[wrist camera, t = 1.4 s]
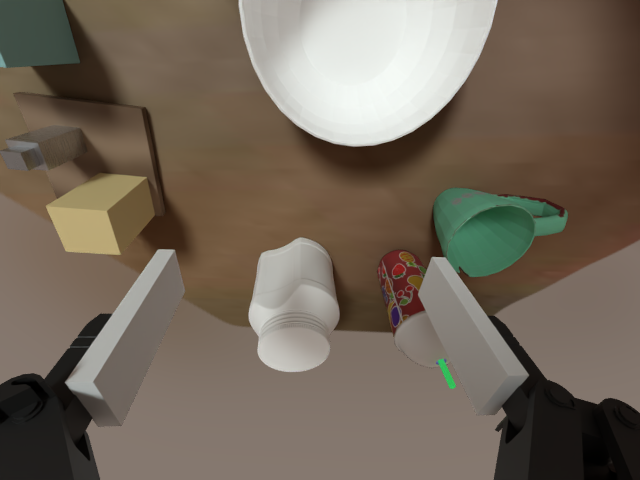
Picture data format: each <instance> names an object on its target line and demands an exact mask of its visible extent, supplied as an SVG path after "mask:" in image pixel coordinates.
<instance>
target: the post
mask: <svg viewBox="0 0 640 480" xmlns="http://www.w3.org/2000/svg"><path fill="white" fill-rule="evenodd" d="M5 141H6V143H7V145H8V147H9V148H6V149H3V150H0V153H1V155H2V157H3V159H4V161H5V163H6V165H7V167H8V169H16V170H26V171H29V170H31V169H36V170H47V171H49V170H51V169H53V168H56V167H58V166H60V165H62V164H64V163H66V162H68V161H70V160H72V159H74V158H76V157H78V156H80V155H82V154H84V153H86V152H88V151H87V148H86V145H85V142H84V139H83V135H82V132H81V129H80V128H77V127H68V126H59V125H51V126H48V127H45V128H41V129H38V130H35V131H32V132H28V133H25V134H22V135H19V136H15V137H12V138H9V139H5Z"/></svg>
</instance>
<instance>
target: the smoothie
mask: <svg viewBox="0 0 640 480" xmlns="http://www.w3.org/2000/svg"><path fill="white" fill-rule="evenodd" d="M426 271H427V270H426V268H425V267H424V265H423V264H422V262H421V261H420V260H419V258H418V257H417V256H416V255H414V254H412V253H410V252H408V251H405V250H395V251H392V252H390V253H388V254H386V255H385V256H384V257H383V258H382V259H381V261H380V264H379V266H378V270H377V273H378V278H379V282H380V286H381V290H382V293H383V297H384V301H385V305H386V309H387V313H388V317H389V321H390V325H391V329H392V332H393V336H394V342H395V345H396V347H397V348H398V349H399V351H401V352H403V353H404V354H405V355H406V356H407V357H408V358H409V359H410V360H412V361H414V362H415V363H417V364H419V365H421V366H425V367H429V368H437V367H440V368H441V370H442V372H443V374H444V376H445V379H446V381H447V383H448V385H449V388H451V389H453V388H455V387H456V385H455V383H454V381H453V379H452V377H451V374H450V372H449V370H448V368H447V366H446V365H447V364H449V363H451V361H450V359H449V357H448V355H447V353H446V351H445V349H444V347H443V345H442V343H441V341H440V339H439V337H438V335H437V333H436V331H435V329H434V327H433V325H432V323H431V320H430V318H429V316H428V314H427V312H426V310H425V308H424V306H423V304H422V302H421V300H420V298H419V296H418V293H419V290H420V287H421V285H422V282H423V279H424V277H425V274H426Z"/></svg>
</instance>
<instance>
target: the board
mask: <svg viewBox="0 0 640 480" xmlns="http://www.w3.org/2000/svg"><path fill="white" fill-rule="evenodd" d="M13 94H14V96H15V99H16V101H17V104H18V106H19V108H20V111H21V113H22V116H23V118H24V120H25V123H26V125H27V128H28V130H29V132H32V131H35V130H38V129H41V128H45V127H48V126H51V125H59V126H68V127H77V128H80V129H81V132H82V135H83V139H84V142H85V145H86V148H87V151H88V152H86V153H84V154H82V155H80V156H78V157H76V158H74V159H72V160H70V161H68V162H66V163H64V164H62V165H60V166H58V167H56V168H53V169H51V170H49V171H47V170H45V171H46V173H47V176H48V178H49V180H50V183H51V185H52V188H53V190H54V192H55V195H56V197H57V199H58V198H60V197H62V196H63V195H65V194H66V193H68V192H70V191H71V190H73V189H74V188H76V187H78V186H79V185H81V184H83V183H84V182H86V181H87V180H89V179H91V178H92V177H94V176H95V175H97V174H99V173H107V174H118V175H129V176H139V177H147V180H148V185H149V189H150V194H151V198H152V203H153V208H154V212H155V216H163V215H164V214H165V207H164V202H163V197H162V192H161V186H160V181H159V176H158V171H157V166H156V160H155V155H154V150H153V145H152V140H151V134H150V129H149V124H148V119H147V113H146V108H145V107H139V106H131V105H123V104H115V103H107V102H98V101H90V100H82V99H74V98H66V97H58V96H50V95H42V94H33V93H25V92H18V93H13Z"/></svg>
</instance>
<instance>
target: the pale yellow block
mask: <svg viewBox="0 0 640 480" xmlns="http://www.w3.org/2000/svg"><path fill="white" fill-rule="evenodd" d="M46 208H47V210H48V212H49V214H50V217H51V219H52V221H53V223H54V226H55V228H56V230H57V232H58V235H59V237H60V239H61V241H62V243H63V245H64V248H65V250H66V251H67V252H83V253H100V254H115V255H121V254H122V253H123V252H124V250H125V249H126V248H127V247H128V246H129V245H130V244H131V242H132V241H133V240H134V239H135V238H136V237H137V235H138V234H139V233H140V232H141V231H142V230H143V229H144V227H145V226H146V225H147V224H148V223H149V222H150V220H151V219H152V218H153V217H154V216H155V212H154V208H153V203H152V198H151V194H150V189H149V185H148V180H147V177H139V176H129V175H118V174H107V173H99V174H97V175H95V176H94V177H92V178H91V179H89V180H87V181H86V182H84V183H83V184H81V185H79V186H78V187H76V188H74V189H73V190H71V191H70V192H68V193H66V194H65V195H63V196H62V197H60V198H58V199H57V200H55V201H53V202H52V203H50V204H49V205H47V206H46Z"/></svg>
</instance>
